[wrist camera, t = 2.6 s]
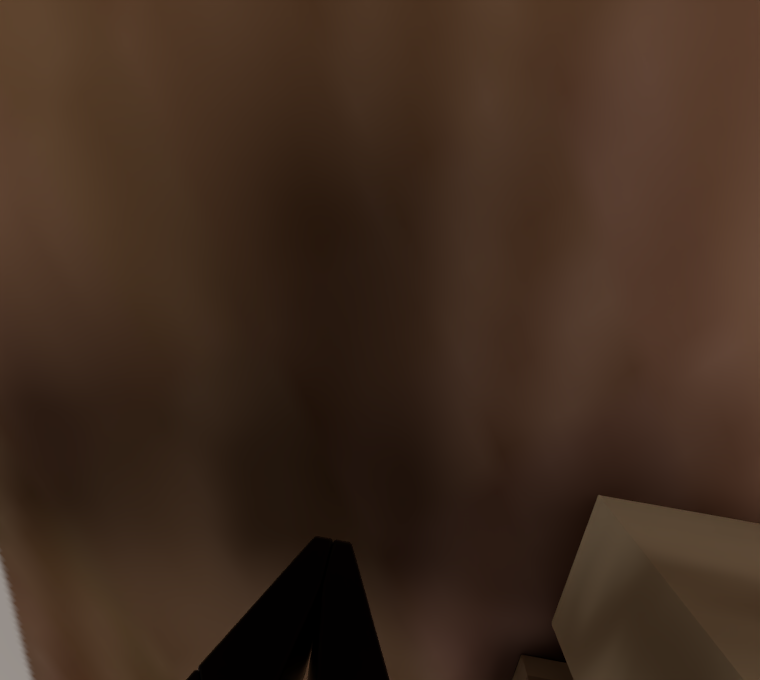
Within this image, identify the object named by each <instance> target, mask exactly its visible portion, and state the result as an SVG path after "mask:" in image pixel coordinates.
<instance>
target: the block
mask: <svg viewBox="0 0 760 680" xmlns="http://www.w3.org/2000/svg"><path fill="white" fill-rule="evenodd" d="M551 624H552V626H553V629H554V632H555V634H556V637H557V639H558V642H559V644H560V647H561V649H562V652H563V654H564V657H565V659H566V662H567V664H568V667H569V669H570V672H571V674H572V677H573V679H574V680H760V524H759V523H754V522H748V521H742V520H737V519H731V518H725V517H720V516H714V515H708V514H703V513H697V512H692V511H686V510H680V509H675V508H669V507H663V506H658V505H652V504H646V503H641V502H635V501H630V500H624V499H618V498H613V497H607V496H601V495H598V497H597V500H596V502H595V505H594V508H593V511H592V513H591V516H590V519H589V522H588V524H587V527H586V530H585V533H584V535H583V538H582V541H581V543H580V546H579V549H578V552H577V554H576V557H575V560H574V563H573V565H572V568H571V571H570V574H569V576H568V579H567V582H566V584H565V587H564V590H563V593H562V595H561V598H560V601H559V604H558V606H557V609H556V612H555V614H554V617H553V620H552V623H551Z"/></svg>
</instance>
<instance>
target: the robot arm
mask: <svg viewBox="0 0 760 680" xmlns="http://www.w3.org/2000/svg"><path fill="white" fill-rule="evenodd" d="M332 543H333V544H332ZM311 649H312V651H311ZM310 653H311V657H310ZM309 657H310V664H309V671H308V680H389V676H388V673H387V669H386V666H385V662H384V658H383V655H382V651H381V647H380V644H379V640H378V637H377V633H376V629H375V626H374V622H373V619H372V615H371V611H370V608H369V604H368V600H367V597H366V593H365V590H364V586H363V582H362V579H361V575H360V572H359V568H358V564H357V561H356V557H355V553H354V550H353V546H352V544H351V543H350V542H346V541H340V540H334V541H333V542H332V540H331V539H330V538H324V537H319V536H316V537H314V538H313V539H312V540H311V541H310V542H309V543H308V544H307V546H306V547H305V548H304V549H303V550H302V551H301V552H300V553H299V554H298V556H297V557H296V558H295V559H294V560H293V561H292V562H291V563H290V565H289V566H288V567H287V568H286V569H285V570H284V571H283V572H282V573H281V575H280V576H279V577H278V578H277V579H276V580H275V581H274V582H273V584H272V585H271V586H270V587H269V588H268V589H267V590H266V591H265V592H264V594H263V595H262V596H261V597H260V598H259V599H258V600H257V601H256V603H255V604H254V605H253V606H252V607H251V608H250V609H249V610H248V611H247V613H246V614H245V615H244V616H243V617H242V618H241V619H240V620H239V622H238V623H237V624H236V625H235V626H234V627H233V628H232V629H231V630H230V632H229V633H228V634H227V635H226V636H225V637H224V638H223V639H222V641H221V642H220V643H219V644H218V645H217V646H216V647H215V648H214V650H213V651H212V652H211V653H210V654H209V655H208V656H207V657H206V658H205V660H204V661H203V662H202V663H201V664H200V665H199V667H198V670H195V671H194V672H193V673H192V674H191V675H190V676H189V677H188V678H187V679H186V680H303V678H304V675H305V671H306V668H307V664H308V661H309Z"/></svg>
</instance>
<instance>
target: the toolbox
mask: <svg viewBox="0 0 760 680" xmlns="http://www.w3.org/2000/svg"><path fill="white" fill-rule="evenodd" d="M512 680H574V679H573V677H572V674H571V672H570V669H569V667H568V664H567V663H564V662H558V661H553V660H548V659H543V658H537V657H532V656H527V655H521V656H520V659H519V662H518V665H517V668H516V670H515V673H514V676H513V679H512Z"/></svg>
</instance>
